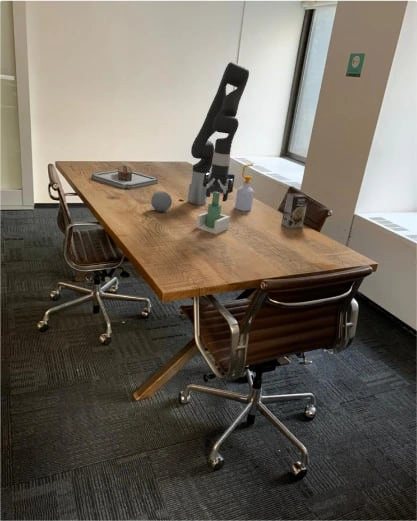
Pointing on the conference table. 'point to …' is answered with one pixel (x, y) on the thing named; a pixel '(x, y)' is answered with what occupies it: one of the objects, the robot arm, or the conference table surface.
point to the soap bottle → (244, 194)
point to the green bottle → (213, 211)
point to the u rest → (219, 225)
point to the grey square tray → (124, 178)
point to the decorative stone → (161, 201)
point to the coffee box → (294, 210)
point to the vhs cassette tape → (229, 176)
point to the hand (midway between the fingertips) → (216, 198)
